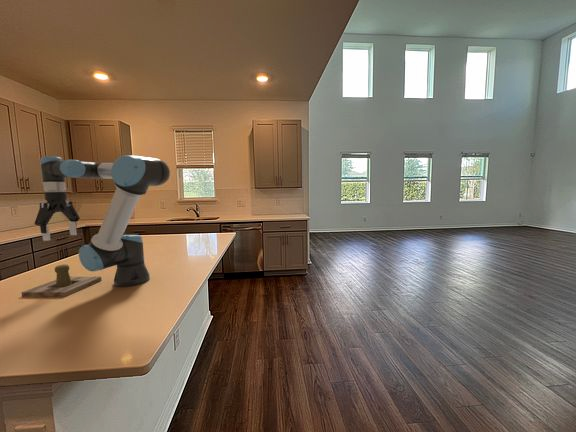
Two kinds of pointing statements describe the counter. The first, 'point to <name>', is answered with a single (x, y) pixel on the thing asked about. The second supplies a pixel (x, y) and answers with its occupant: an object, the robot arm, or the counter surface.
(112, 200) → the robot arm
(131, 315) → the counter surface
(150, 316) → the counter surface
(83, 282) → the walnut board
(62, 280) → the olive tapered block
